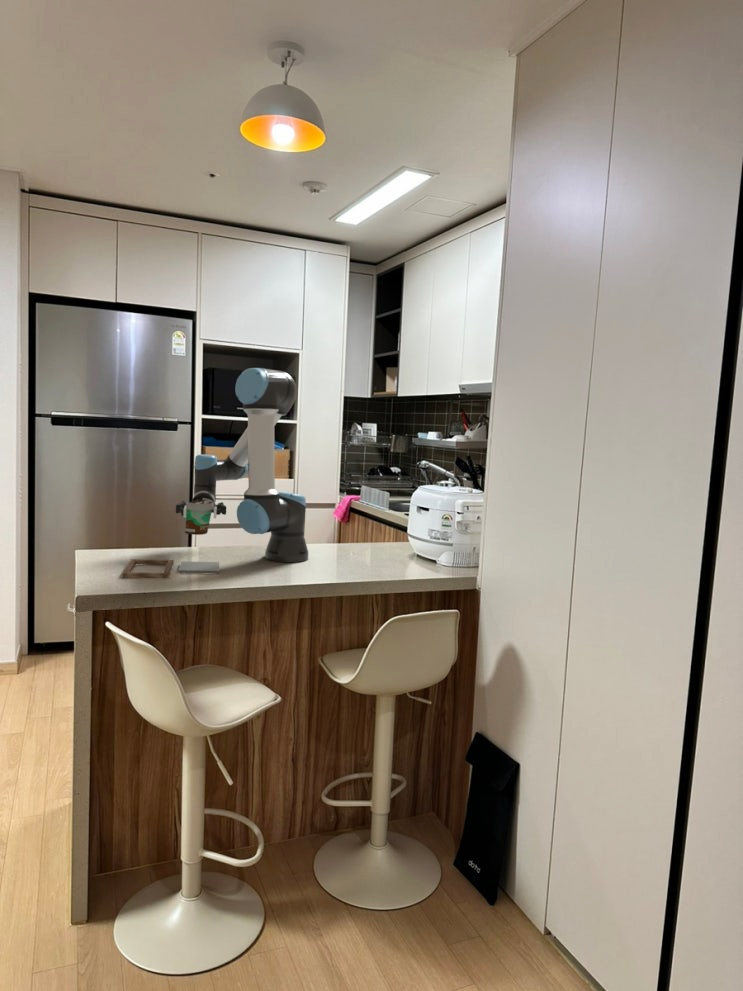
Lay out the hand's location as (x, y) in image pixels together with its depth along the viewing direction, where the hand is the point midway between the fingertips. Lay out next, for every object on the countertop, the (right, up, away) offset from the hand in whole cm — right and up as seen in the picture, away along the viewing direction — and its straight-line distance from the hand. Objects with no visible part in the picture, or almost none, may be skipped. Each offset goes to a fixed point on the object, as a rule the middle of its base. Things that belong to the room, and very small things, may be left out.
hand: (199, 513), depth 212 cm
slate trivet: (-2, -18, +7) cm, 19 cm away
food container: (-1, -6, +5) cm, 8 cm away
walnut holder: (-16, -18, +1) cm, 24 cm away
